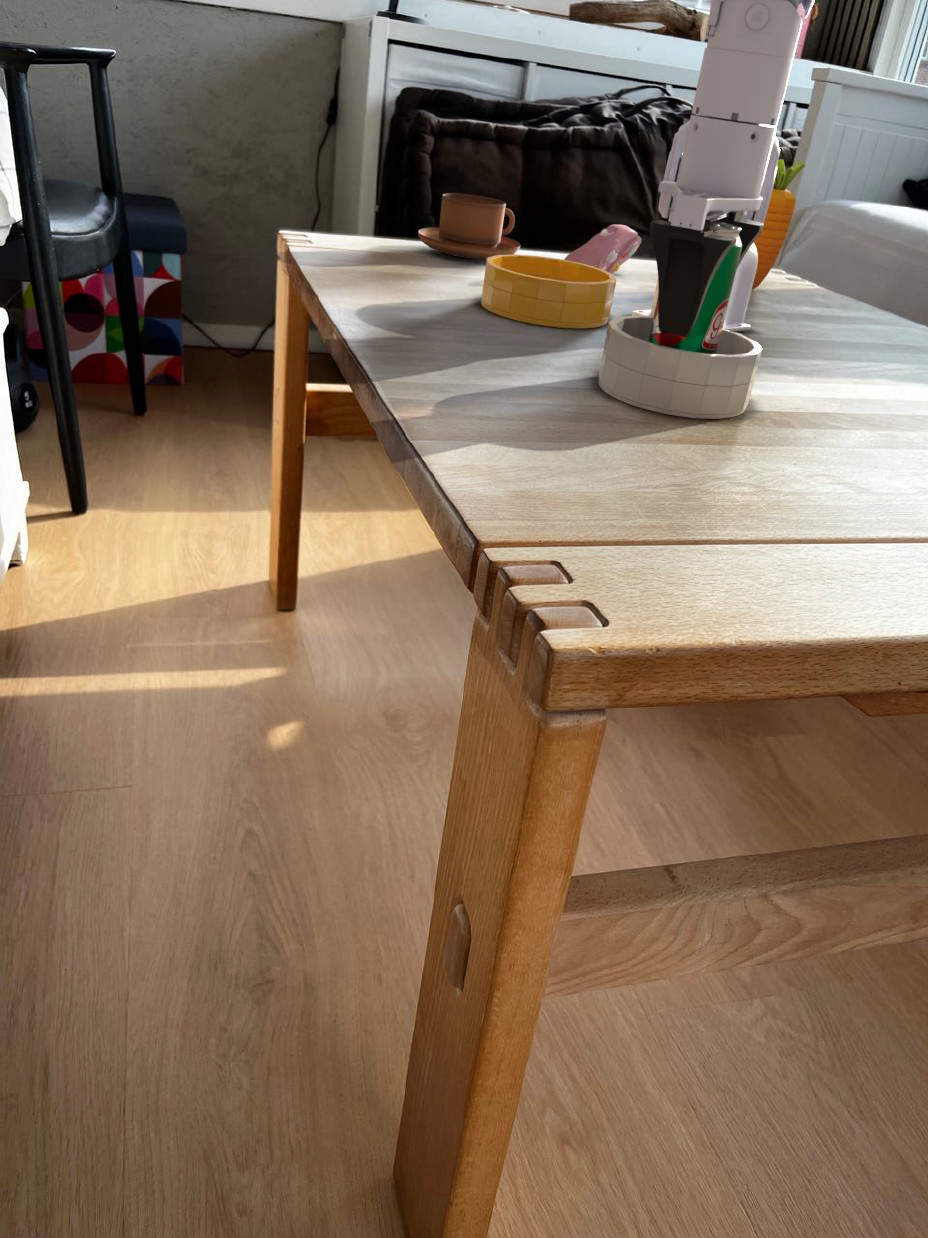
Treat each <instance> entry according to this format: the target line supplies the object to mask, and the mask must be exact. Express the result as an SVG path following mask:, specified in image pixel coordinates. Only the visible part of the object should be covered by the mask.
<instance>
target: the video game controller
mask: <svg viewBox="0 0 928 1238" xmlns="http://www.w3.org/2000/svg"><path fill="white" fill-rule="evenodd" d="M642 241H643V240H642V238H641V237H640V236H639V234H638V232H637V231H636V230H634V229H632V228H630V227H629V226H627V225H624V224H615V223H614V224H611V225H608V226H607V227H606V228H603V229H601V231H600V232H599V233H597V234H595V235H594V236H592V237H591V238H590V239H589V240H588V241H587V242H586V243H584V244H583V245H582V246H580V247H579V248H576V249H575V250H573V251H571V252H570V253H568V254H567V255H566V256H565V257H564V258H563V260H567V261H572V262H577V263H582V264H586V265H589V266H593V267H596V268H600V269H603V270H605V271H607V272H609V273H611V274H613V275H614V273H615V272H618V271H619V270H620V267H621V266H622V265H623V264H624V263H626V261H628V260H629V259H631V257H633V255H634V254H636V252H637V250H638V248H639V247H640V245H641V244H642Z"/></svg>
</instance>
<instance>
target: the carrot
mask: <svg viewBox="0 0 928 1238" xmlns="http://www.w3.org/2000/svg"><path fill="white" fill-rule="evenodd" d="M776 167H777V171H776V177H775V181H774V186H773V190H772V194H771V199H770V203H769V206H768V210H767V214H766V217H765V221H764V227H763V231H762V232H761V234H760V235H759V236H758V237H757V239H756V240H755V241H754V244H755V246H756V250H757V255H758V264H757V270H756V274H755V277H754V281H753V285H752V289H751V291H752V290H755V289H757V288H758V287H759V286H760V285H761V283H762V282H763V281H764V280H765V278H766V277H767V276H768V275H769V274H770V272H771V270H772V269H773V267H774V265H775V263H776V261H777V259H778V257H779V254H780V252H781V250H782V248H783V245H784V243H785V241H786V237H787V235H788V231H789V228H790V225H791V222H792V218H793V215H794V211H795V208H796V203H797V202H796V201H797V200H796V196H795V195H794V194H793V193H792V192H791V191H790V190H788V189H787V187H788V186H789V185H790V184H791V183H792V181H793V180H794V179H795V178H796V176H797V175H798V174H799V173H800V172H801V171H802V170H803V169H804V168H805V167H806V164H805V163H804V162H803V161H798V162H797V163H796V164H795V166H793V165H792V166H790V167H789V168H788V169H787V171H786V166H785V161H784V159H781V158H780V159H778V162H777V166H776Z"/></svg>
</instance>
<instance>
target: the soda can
mask: <svg viewBox="0 0 928 1238" xmlns="http://www.w3.org/2000/svg"><path fill="white" fill-rule="evenodd" d="M710 229H712V230H713V233H712V234H715V235H720V236H725V237H731V238H736V239H737V241H736V243H735V244H734V245H733V246H732V248H731V249H730V250H729V252H728V253H727V255H726V256H725V258H724V259H723V261H722V262H721V264H720V266H719V267H718V269H717V271H716V273H715V275H714V277H713V279H712V281H711V283H710V286H709V288H708V290H707V293H706V296H705V298H704V301H703V304H702V307H701V310H700V312H699V315H698V317H697V320H696V322H695V324H694V327H693V329H692V330H691V332H690V334H689V336H687V337H684V336H679V335H675V334H670V333H666V332H662V331H659V323H658V298H657V303H656V308H655V313H654V317H653V322H652V327H651V332H650V336H649V341H648V342H650V343H653V344H656V345H661V346H665V347H670V348H674V349H678V350H684V351H691V352H699V353H706V354H716V353H717V349H718V344H719V340H720V336H721V332H722V328H723V324H724V320H725V316H726V312H727V307H728V303H729V299H730V295H731V291H732V287H733V283H734V279H735V275H736V271H737V266H738V262H739V258H740V254H741V250H742V246H743V245H742V242H741V239H740V236H739V232H740V231H741V228H739V227H737V226H735V225H731V224H728V223H723V222H718V221H713V222H711V224H710ZM710 229H709V230H710Z"/></svg>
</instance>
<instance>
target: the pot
mask: <svg viewBox="0 0 928 1238" xmlns="http://www.w3.org/2000/svg"><path fill="white" fill-rule="evenodd" d="M653 317H654V316H641V315H634V316H632V315H625V316H617V317H614V318H613V319H611V320H608V324H607V330H606V334H605V339H604V345H603V351H602V355H601V361H600V367H599V370H598V371H599V372H598V386H599V388H600V389H601V390H602V391H603V392H604V393H606V394H607V395H609V396H610V397H612V398H614V399H616V400H619V401H621V402H623V403H625V404H628V405H631V406H634V407H637V408H640V409H643V410H648V411H651V412H655V413H659V414H663V415H670V416H676V417H682V418H689V419H703V420H705V419H706V420H712V419H713V420H717V419H719V420H720V419H729V418H730V419H731V418H734V417H738V416H740V415H742V414H744V412H745V411H746V410H747V406H748V405H749V403H750V399H751V395H752V391H753V388H754V384H755V381H756V377H757V373H758V369H759V366H760V362H761V358H762V354H763V350H764V349H763V348H762V346H761V345H760V344H759V343H758V341H756V340H754V339H751V338H750V337H748V336H746V335H744V334H742V333H739V332H737V331H734V332H733V331H730V330H727V329H723V328H722V332H721V336H720V340H719V344H718V349H717V353H716V354H706V353H699V352H691V351H684V350H678V349H674V348H670V347H665V346H661V345H656V344H653V343H650V342H648V341H649V336H650V332H651V327H652V322H653Z"/></svg>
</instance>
